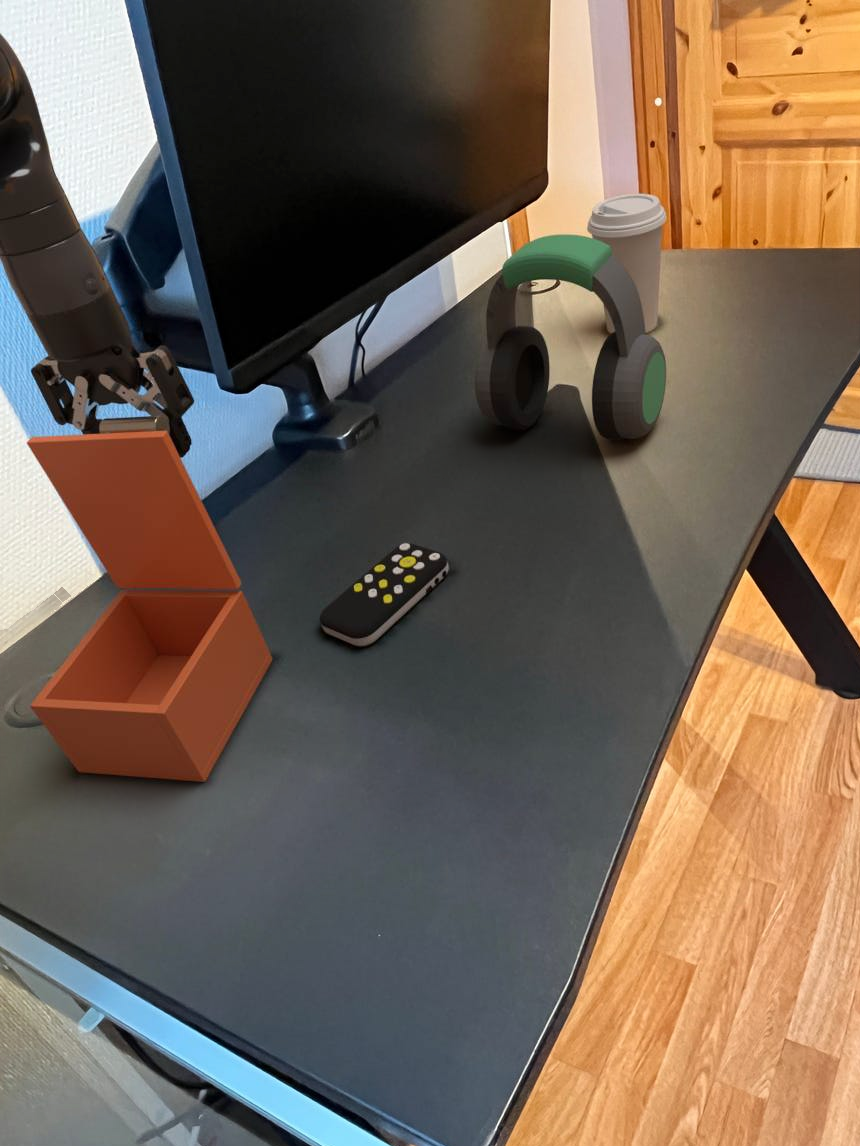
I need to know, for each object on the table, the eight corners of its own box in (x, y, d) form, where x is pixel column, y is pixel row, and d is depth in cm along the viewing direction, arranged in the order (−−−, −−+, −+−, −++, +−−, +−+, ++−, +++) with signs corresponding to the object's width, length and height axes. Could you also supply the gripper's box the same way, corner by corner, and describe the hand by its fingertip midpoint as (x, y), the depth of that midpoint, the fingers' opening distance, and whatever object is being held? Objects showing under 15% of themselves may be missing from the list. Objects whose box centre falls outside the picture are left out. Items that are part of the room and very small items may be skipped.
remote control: (316, 631, 78) (310, 615, 77) (407, 553, 85) (402, 536, 83) (366, 653, 75) (360, 636, 73) (456, 569, 81) (452, 552, 80)
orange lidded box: (205, 782, 67) (163, 713, 62) (78, 772, 70) (29, 705, 65) (273, 659, 76) (242, 590, 71) (159, 655, 79) (121, 589, 74)
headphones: (672, 410, 96) (668, 221, 83) (638, 462, 90) (627, 265, 77) (519, 397, 105) (493, 223, 92) (477, 444, 98) (443, 263, 85)
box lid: (162, 436, 61) (195, 395, 64) (25, 442, 64) (64, 403, 67) (238, 589, 71) (263, 546, 74) (117, 588, 74) (146, 547, 77)
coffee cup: (589, 319, 118) (578, 202, 108) (658, 305, 118) (654, 186, 108) (604, 348, 111) (594, 224, 101) (678, 332, 111) (675, 207, 101)
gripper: (156, 268, 76) (225, 432, 87) (23, 284, 80) (105, 439, 91) (113, 304, 71) (191, 474, 82) (-27, 318, 75) (66, 479, 86)
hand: (146, 455), depth 86 cm, fingers open, 8 cm apart
